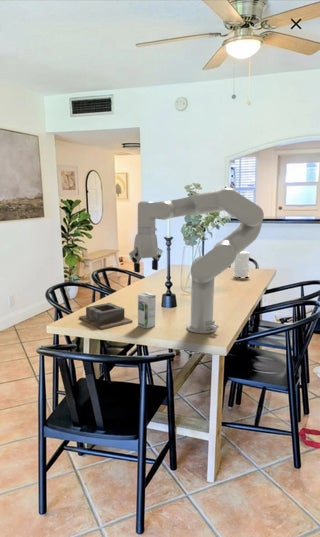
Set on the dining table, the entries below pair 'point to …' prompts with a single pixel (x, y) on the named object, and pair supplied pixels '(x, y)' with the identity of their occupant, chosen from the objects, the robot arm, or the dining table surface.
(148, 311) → the syrup box
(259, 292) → the dining table surface
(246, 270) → the decorative container
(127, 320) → the socket stand
